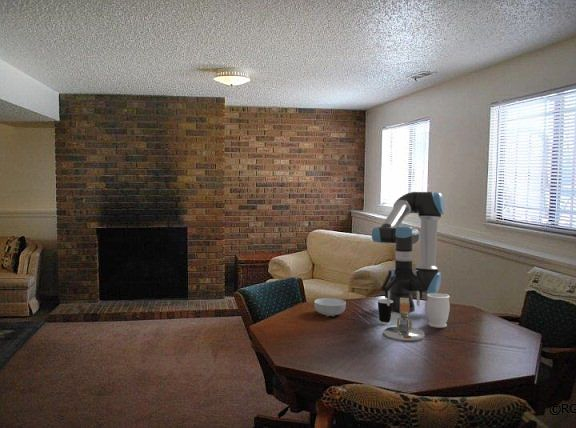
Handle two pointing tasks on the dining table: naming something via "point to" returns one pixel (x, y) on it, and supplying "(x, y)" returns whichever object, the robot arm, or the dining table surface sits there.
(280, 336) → the dining table surface
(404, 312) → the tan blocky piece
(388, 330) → the post base
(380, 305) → the dixie cup
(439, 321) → the jar
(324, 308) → the cereal bowl
